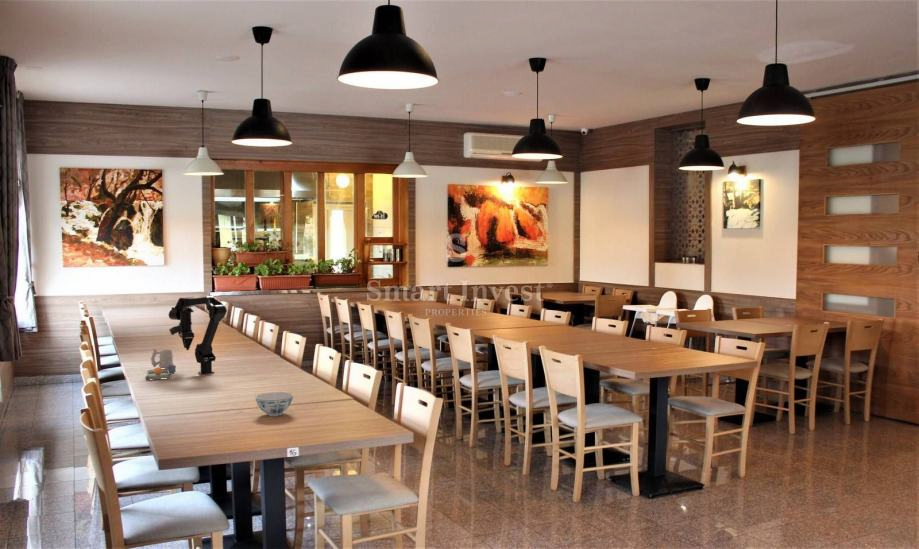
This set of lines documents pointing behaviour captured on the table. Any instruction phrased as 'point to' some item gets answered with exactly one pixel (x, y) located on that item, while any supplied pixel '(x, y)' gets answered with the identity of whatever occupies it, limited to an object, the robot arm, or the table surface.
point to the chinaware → (274, 402)
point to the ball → (158, 371)
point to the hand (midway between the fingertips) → (186, 349)
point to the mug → (162, 358)
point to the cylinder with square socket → (170, 368)
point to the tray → (163, 375)
